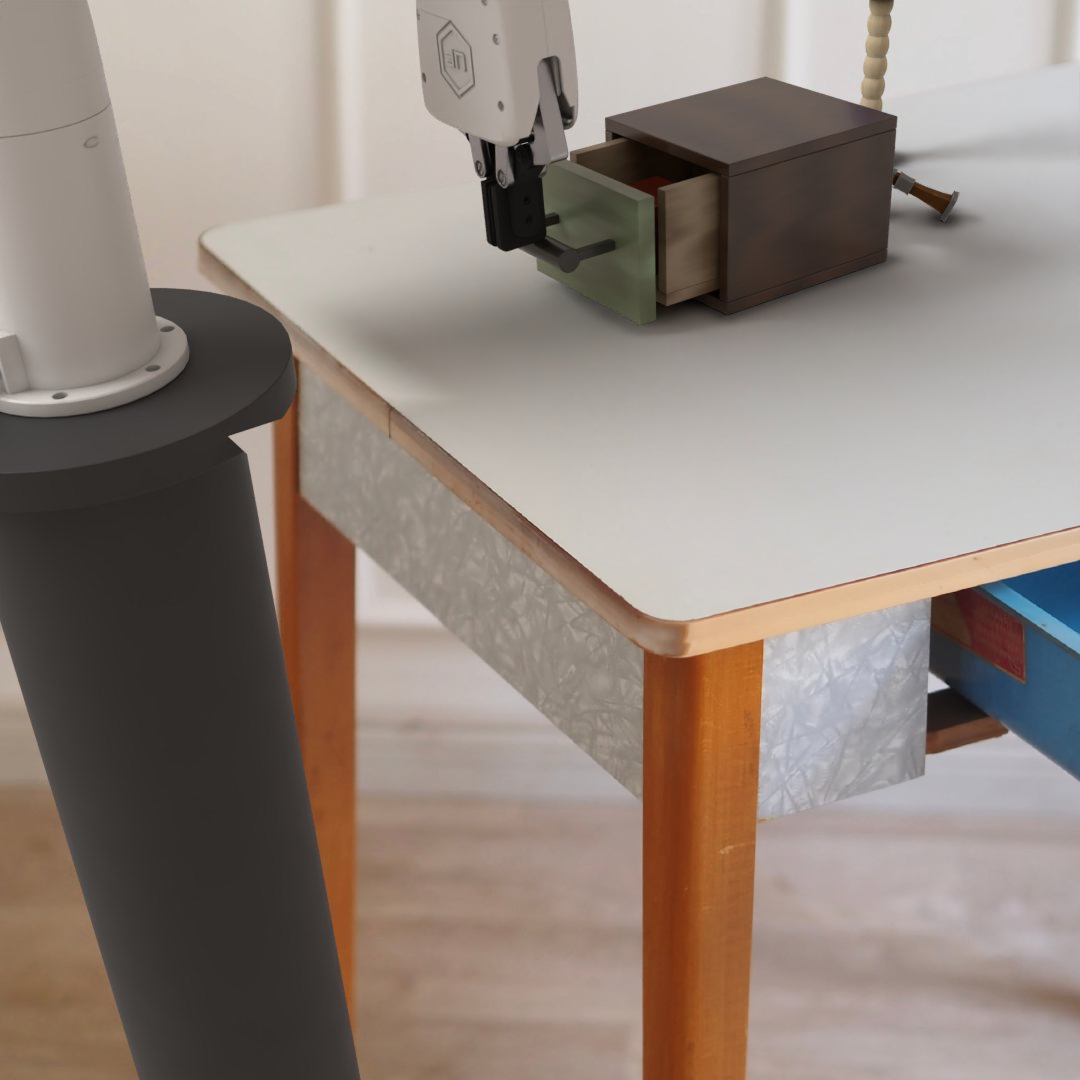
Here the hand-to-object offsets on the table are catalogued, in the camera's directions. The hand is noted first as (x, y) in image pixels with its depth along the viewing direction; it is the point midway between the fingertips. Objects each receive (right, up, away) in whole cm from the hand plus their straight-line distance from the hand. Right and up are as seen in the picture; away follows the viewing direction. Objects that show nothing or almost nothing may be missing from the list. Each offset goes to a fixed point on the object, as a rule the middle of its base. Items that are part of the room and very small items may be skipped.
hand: (517, 241), depth 89 cm
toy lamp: (+27, +11, +27) cm, 40 cm away
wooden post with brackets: (+27, +5, +16) cm, 32 cm away
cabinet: (+15, +1, +11) cm, 19 cm away
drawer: (+8, -1, +7) cm, 10 cm away
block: (+8, 0, +7) cm, 11 cm away
